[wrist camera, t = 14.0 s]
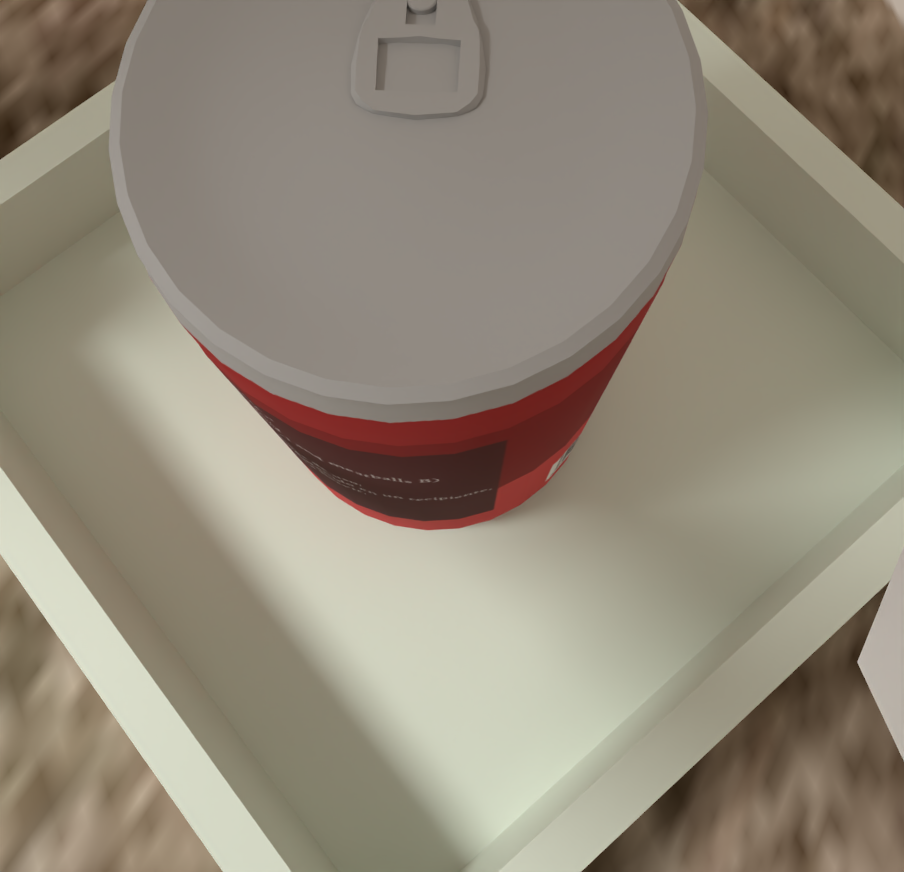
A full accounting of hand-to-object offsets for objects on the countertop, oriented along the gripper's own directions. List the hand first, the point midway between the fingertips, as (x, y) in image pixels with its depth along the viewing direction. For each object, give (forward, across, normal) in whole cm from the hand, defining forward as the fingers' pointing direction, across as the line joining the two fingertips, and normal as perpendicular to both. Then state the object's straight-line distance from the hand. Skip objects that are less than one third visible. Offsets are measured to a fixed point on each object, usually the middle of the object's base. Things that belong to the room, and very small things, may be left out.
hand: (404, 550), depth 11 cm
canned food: (+10, 0, -2) cm, 10 cm away
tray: (+10, 0, -3) cm, 11 cm away
